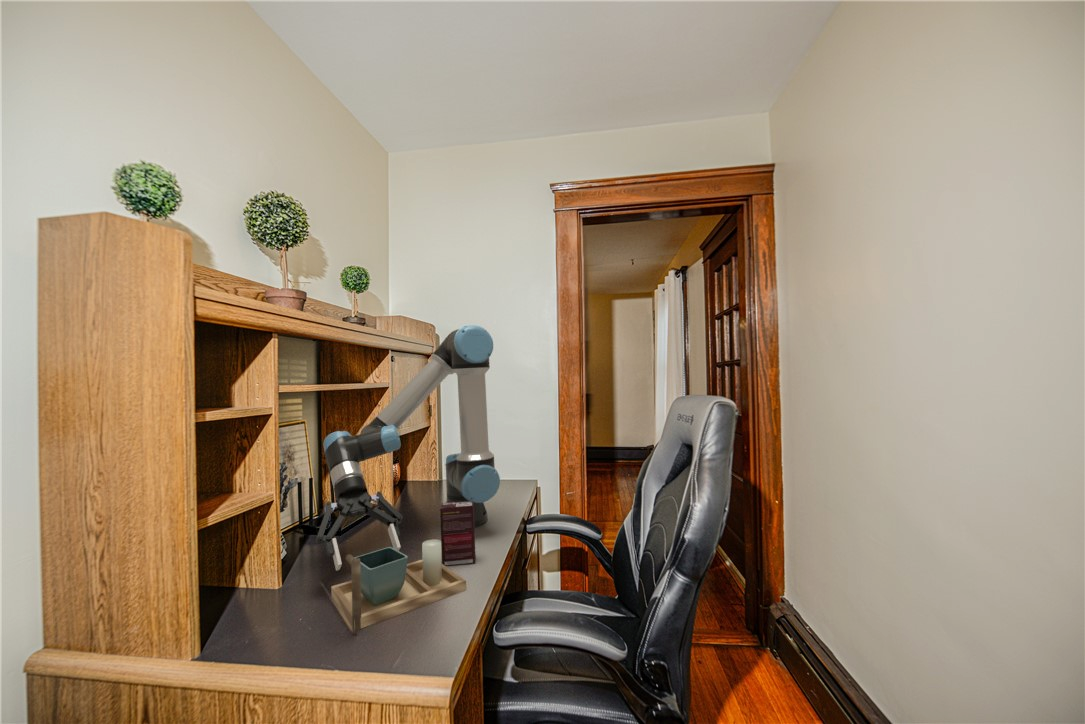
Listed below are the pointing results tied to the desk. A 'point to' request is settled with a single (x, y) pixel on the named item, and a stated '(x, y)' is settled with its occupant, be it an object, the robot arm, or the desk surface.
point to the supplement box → (457, 533)
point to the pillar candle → (432, 562)
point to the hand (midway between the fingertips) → (369, 558)
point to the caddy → (409, 598)
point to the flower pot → (382, 574)
